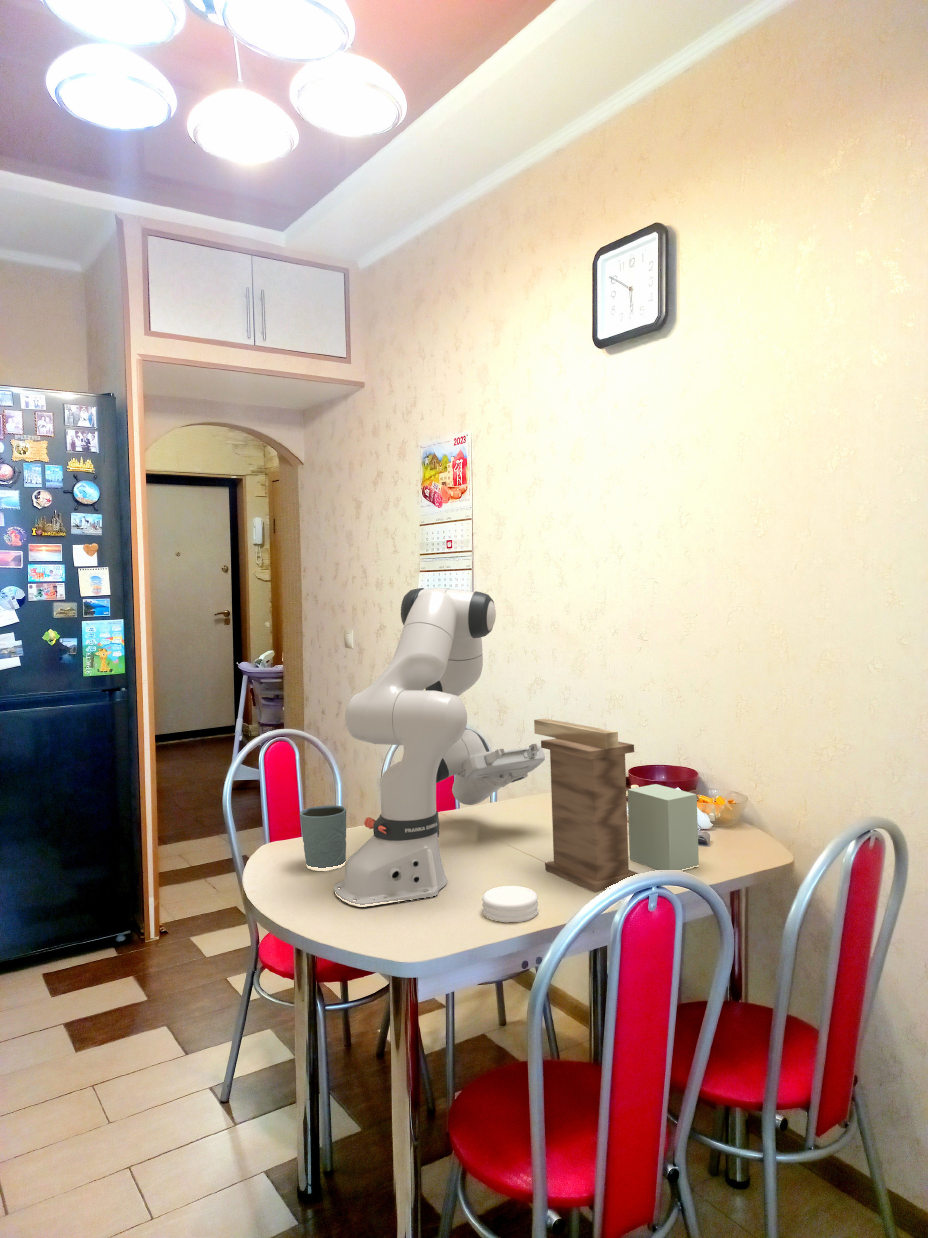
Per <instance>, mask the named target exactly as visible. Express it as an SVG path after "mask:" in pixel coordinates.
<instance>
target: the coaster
mask: <svg viewBox="0 0 928 1238" xmlns="http://www.w3.org/2000/svg"><path fill="white" fill-rule="evenodd" d="M481 897H482V898H481V899H482V900H481V901H482V905H481V906H482V908H483V909H482V913H483V916H484V915H485V916H486V917H488V918H491V919H493V920H497V921H501V922H518V923H523V921H524V922H527V921H530V920H532V919H534V918H535V917H536V916H537V915H538V913H539V908H538V906H539V903H538V898H539V897H538V894H537V893H536V892H535V891H534V890H533V889H531V888H528V887H525V886H519V885H502V886H496V887H493V888H490V889H488V890H487V891H486V892H485V893H483V894H482V896H481ZM485 916H484V917H485ZM486 917H485V918H486ZM488 918H487V919H488ZM501 922H500V923H501Z"/></svg>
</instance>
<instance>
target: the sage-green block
mask: <svg viewBox="0 0 928 1238" xmlns="http://www.w3.org/2000/svg"><path fill="white" fill-rule="evenodd" d="M697 797H698V794H696V793H693V792H688V791H685V790H681V789H677V788H673V787H669V786H664V785H662V784H657V783H655V784H654V783H652V784H649V785H644V786H640V787H639V786H638V787H634V788H628V789H627V821H628V852H629V860H631V861H633V862H636V863H638V864H641V865H644V866H647V867H649V868H651V869H654V870H657V871H659V870H682V869H686V868H690V867H693V866H697V865H700V864H699V863H700V862H699V860H700V859H699V856H700V855H699V831H698V830H699V829H698V827H699V825H698V822H699V821H698V799H697ZM684 871H685V872H686V870H684ZM684 871H683V872H684Z"/></svg>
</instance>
